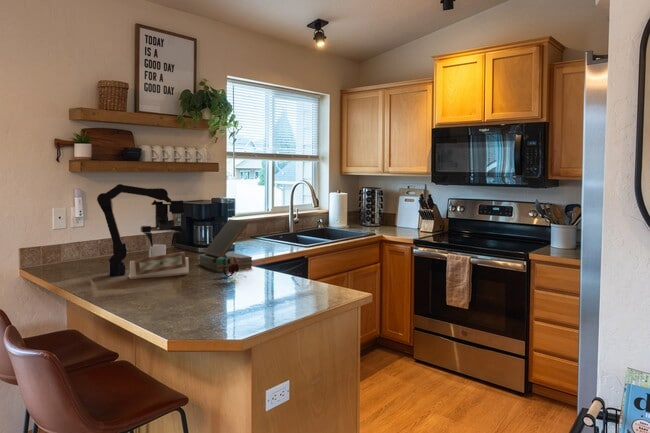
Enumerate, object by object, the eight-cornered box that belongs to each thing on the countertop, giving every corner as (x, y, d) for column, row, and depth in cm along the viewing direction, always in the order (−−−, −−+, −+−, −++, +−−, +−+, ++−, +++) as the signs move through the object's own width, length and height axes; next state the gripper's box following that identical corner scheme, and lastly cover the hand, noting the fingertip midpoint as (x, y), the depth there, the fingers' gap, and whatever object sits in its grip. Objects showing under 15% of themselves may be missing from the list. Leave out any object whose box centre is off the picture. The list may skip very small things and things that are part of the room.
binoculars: (221, 274, 230) (221, 253, 229) (240, 275, 227) (240, 254, 226) (211, 277, 221) (211, 255, 221) (231, 278, 218) (231, 256, 218)
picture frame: (137, 275, 214) (135, 260, 213) (136, 274, 215) (134, 259, 215) (186, 266, 225) (184, 252, 224) (185, 266, 227) (183, 251, 226)
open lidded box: (199, 266, 255) (199, 219, 254) (233, 263, 267) (233, 218, 266) (217, 272, 237) (216, 222, 236) (252, 268, 249) (252, 220, 247)
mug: (168, 267, 248) (168, 244, 248) (159, 269, 242) (159, 245, 242) (154, 266, 253) (153, 243, 252) (144, 268, 246) (144, 244, 246)
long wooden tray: (130, 279, 215) (130, 261, 214) (128, 277, 220) (128, 259, 220) (188, 274, 228) (188, 257, 228) (185, 272, 233) (185, 256, 233)
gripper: (144, 215, 219) (144, 249, 220) (185, 214, 228) (185, 247, 229) (140, 214, 228) (140, 246, 229) (179, 213, 238) (179, 244, 239)
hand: (161, 246), depth 231 cm, fingers open, 9 cm apart
